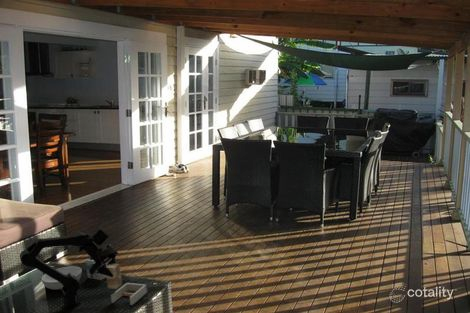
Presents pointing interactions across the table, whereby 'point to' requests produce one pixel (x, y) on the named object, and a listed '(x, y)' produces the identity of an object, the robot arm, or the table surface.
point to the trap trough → (130, 292)
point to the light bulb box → (95, 275)
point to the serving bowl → (73, 270)
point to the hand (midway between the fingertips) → (115, 274)
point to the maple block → (114, 276)
